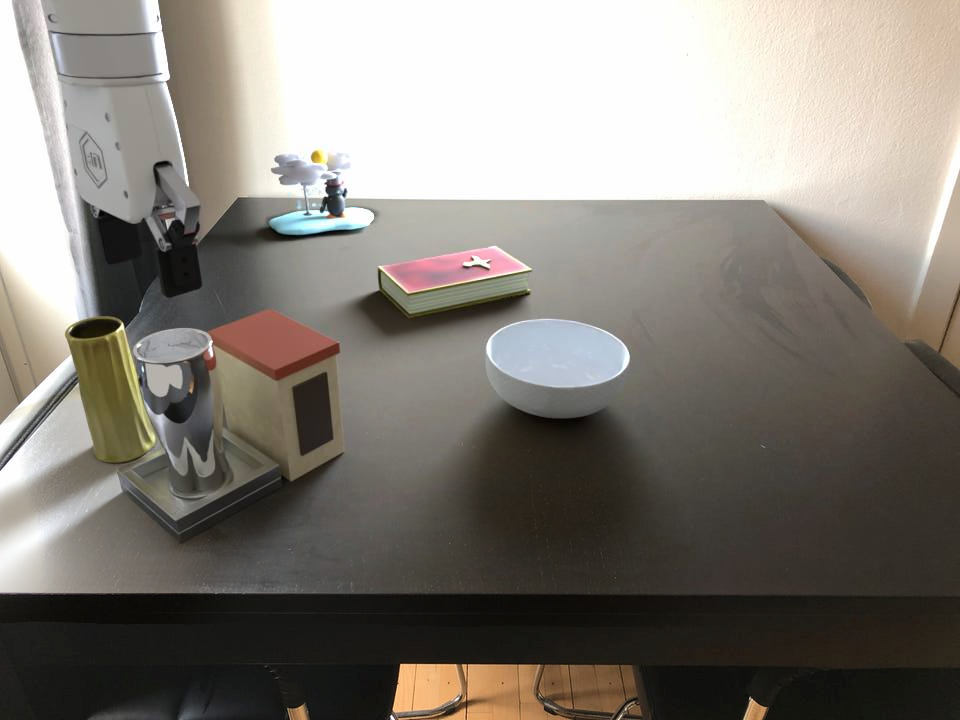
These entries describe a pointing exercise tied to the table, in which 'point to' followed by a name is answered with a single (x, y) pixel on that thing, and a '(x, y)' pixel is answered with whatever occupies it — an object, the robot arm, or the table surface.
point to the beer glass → (185, 408)
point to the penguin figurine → (309, 175)
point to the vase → (109, 389)
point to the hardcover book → (453, 281)
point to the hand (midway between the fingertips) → (152, 275)
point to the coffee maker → (255, 421)
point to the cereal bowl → (556, 367)
